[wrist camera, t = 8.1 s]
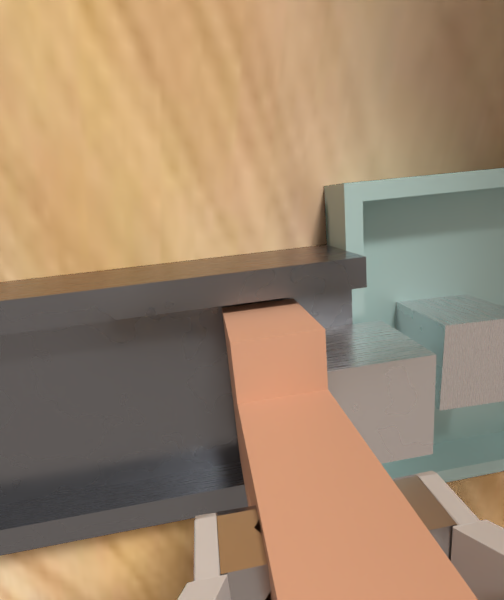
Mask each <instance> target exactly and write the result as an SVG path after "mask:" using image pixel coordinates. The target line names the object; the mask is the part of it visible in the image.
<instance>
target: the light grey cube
mask: <svg viewBox="0 0 504 600" xmlns="http://www.w3.org/2000/svg"><path fill="white" fill-rule="evenodd" d="M325 333H326V355H327V376H328V390H329V391H330V393H331V394H332V396H333V397H334V398H335V400H336V401H337V403H338V404H339V405H340V407H341V408H342V410H343V411H344V412H345V414H346V415H347V417H348V418H349V419H350V421H351V422H352V424H353V425H354V426H355V428H356V429H357V431H358V432H359V433H360V435H361V436H362V438H363V439H364V441H365V442H366V443H367V445H368V446H369V448H370V449H371V450H372V452H373V453H374V455H375V456H376V457H377V459H378V460H379V462H380V463H381V464H382V463H388V462H393V461H398V460H404V459H409V458H415V457H420V456H425V455H431V454H433V438H434V410H435V382H436V354H435V353H433V352H431V351H430V350H428V349H427V348H425V347H423V346H422V345H420V344H419V343H417V342H416V341H414V340H412V339H411V338H409V337H408V336H406V335H404V334H403V333H401V332H400V331H398V330H396V329H395V328H393V327H392V326H390V325H388V324H387V323H385V322H384V321H382V320H379V321H371V322H364V323H357V324H350V325H343V326H336V327H329V328H325Z"/></svg>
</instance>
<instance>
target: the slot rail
mask: <svg viewBox="0 0 504 600" xmlns="http://www.w3.org/2000/svg"><path fill="white" fill-rule="evenodd" d="M365 287H367V274H366V257H365V256H362V255H359V254H355V253H352V252H349V251H346V250H342V249H339V248H336V247H332V246H329V245H321V246H312V247H303V248H295V249H286V250H277V251H269V252H260V253H251V254H243V255H234V256H225V257H217V258H208V259H199V260H191V261H182V262H173V263H165V264H156V265H147V266H139V267H130V268H122V269H113V270H104V271H96V272H87V273H78V274H70V275H61V276H52V277H44V278H35V279H26V280H18V281H9V282H0V555H5V554H10V553H15V552H21V551H26V550H31V549H36V548H41V547H46V546H52V545H57V544H62V543H67V542H72V541H77V540H82V539H88V538H93V537H98V536H103V535H108V534H113V533H119V532H124V531H129V530H134V529H139V528H144V527H149V526H155V525H160V524H165V523H170V522H175V521H180V520H186V519H191V518H195V516H197V515H203V514H210V513H217V512H218V511H225V510H231V509H237V508H243V507H248V502H247V496H246V491H245V485H244V479H243V473H242V467H241V461H240V454H239V446H238V438H237V430H236V421H235V413H234V405H233V397H232V388H231V380H230V372H229V364H228V356H227V347H226V339H225V331H224V323H223V314H222V308H224V307H232V306H240V305H247V304H255V303H262V302H270V301H278V300H285V299H293V298H294V299H295V300H296V301H297V302H298V303H299V304H300V305H301V306H302V307H303V308H304V309H305V310H306V311H307V312H308V313H309V314H310V315H311V316H312V317H313V318H314V319H315V320H316V321H317V322H318V323H319V324H320V325H322V326H323V327H324V328H329V327H336V326H343V325H350V324H353V322H352V289H357V288H365Z"/></svg>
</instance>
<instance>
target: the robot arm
mask: <svg viewBox="0 0 504 600" xmlns="http://www.w3.org/2000/svg"><path fill="white" fill-rule="evenodd" d="M392 480H393V481H394V483H395V484H396V485H397V487H398V488H399V490H400V491H401V492H402V494H403V495H404V497H405V498H406V499H407V501H408V502H409V504H410V505H411V506H412V508H413V509H414V511H415V512H416V513H417V515H418V516H419V518H420V519H421V520H422V522H423V523H424V525H425V526H426V527H427V529H428V530H429V532H430V533H431V534H432V536H433V537H434V539H435V540H436V541H437V543H438V544H439V546H440V547H441V548H442V550H443V551H444V553H445V554H446V556H447V557H448V558H449V560H450V561H451V563H452V564H453V565H454V567H455V568H456V570H457V571H458V572H459V574H460V575H461V577H462V578H463V579H464V581H465V582H466V584H467V585H468V586H469V588H470V589H471V591H472V592H473V593H474V595H475V596H476V598H477V599H478V600H504V528H502V527H500V526H498V525H496V524H494V523H492V522H490V521H488V520H481V521H480V520H479V519H478V518H477V516H476V515H475V514H474V513H473V512H472V511H471V510H470V509H469V508H468V507H467V506H466V504H465V503H464V502H463V501H462V500H461V499H460V498H459V497H458V496H457V495H456V493H455V492H454V491H453V490H452V489H451V488H450V487H449V486H448V485H447V484H446V483H445V481H444V480H443V479H442V478H441V477H440V476H439V475H438V474H437V473H436V472H434V471H427V472H422V473H418V474H414V475H409V476H404V477H399V478H394V479H392ZM270 591H271V589H270V579H269V570H268V562H267V557H266V552H265V547H264V542H263V537H262V534H261V533H260V524H259V517H258V512H257V507H256V505H255V506H249V507H243V508H237V509H231V510H225V511H218V512H217V513H210V514H203V515H197V516H195V521H194V581H192V582H188V583H187V584H186V585H185V587H184V589H183V590H182V592H181V594H180V595H179V597H178V599H177V600H271V596H270Z"/></svg>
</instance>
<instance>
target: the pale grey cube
mask: <svg viewBox="0 0 504 600" xmlns="http://www.w3.org/2000/svg"><path fill="white" fill-rule="evenodd" d="M395 329H396V330H398V331H400V332H401V333H403V334H404V335H406V336H408V337H409V338H411V339H412V340H414V341H416V342H417V343H419V344H420V345H422V346H423V347H425V348H427V349H428V350H430V351H431V352H433V353H435V354H436V382H435V407H436V408H437V409H438V410H439V411H441V410H447V409H454V408H461V407H468V406H474V405H481V404H488V403H495V402H502V401H504V306H501V305H498V304H495V303H492V302H489V301H486V300H482V299H479V298H476V297H473V296H470V295H467V294H465V295H455V296H446V297H437V298H427V299H418V300H409V301H400V302H396V323H395Z"/></svg>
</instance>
